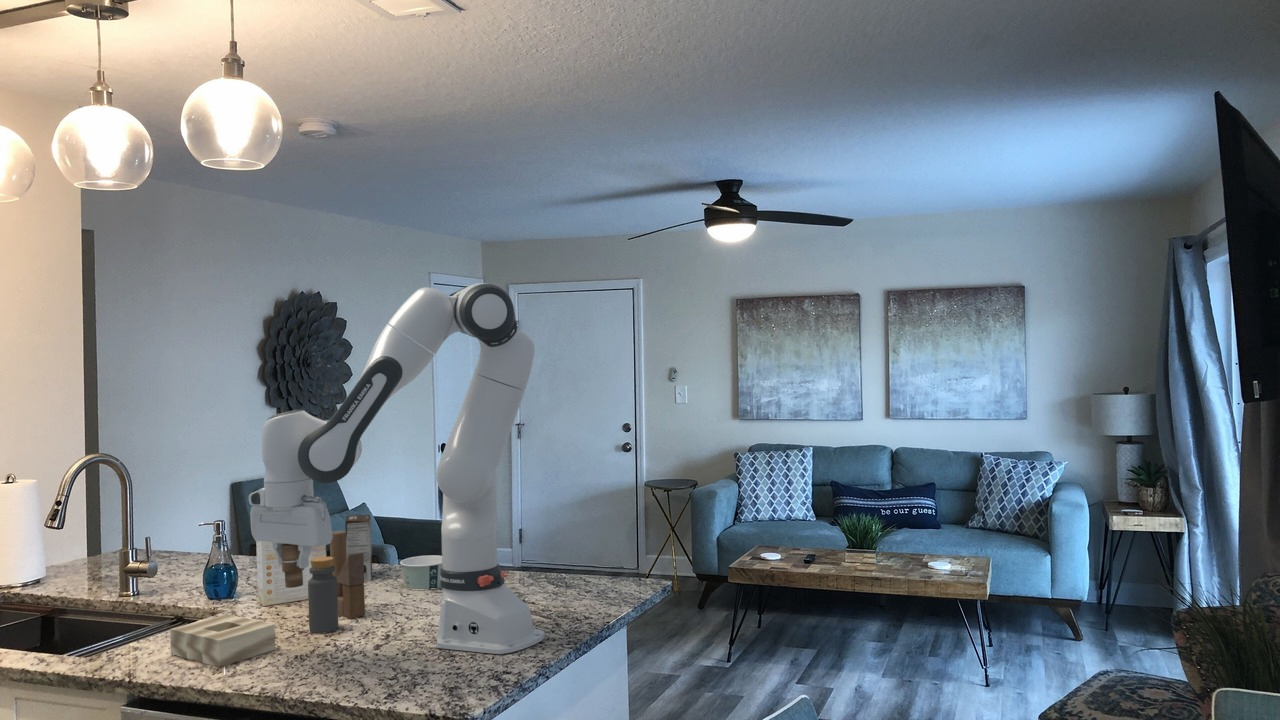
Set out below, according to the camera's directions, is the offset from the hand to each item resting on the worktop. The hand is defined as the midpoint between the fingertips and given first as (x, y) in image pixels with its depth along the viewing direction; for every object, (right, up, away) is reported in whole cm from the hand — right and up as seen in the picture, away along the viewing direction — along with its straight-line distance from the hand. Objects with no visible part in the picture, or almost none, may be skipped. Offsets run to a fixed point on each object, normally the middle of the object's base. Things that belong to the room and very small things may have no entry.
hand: (293, 566), depth 180 cm
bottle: (0, -18, +18) cm, 25 cm away
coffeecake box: (-17, -18, +45) cm, 52 cm away
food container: (+13, -17, +55) cm, 59 cm away
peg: (0, -4, 0) cm, 4 cm away
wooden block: (+1, -18, +30) cm, 35 cm away
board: (-15, -18, +4) cm, 24 cm away
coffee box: (-7, -18, +65) cm, 68 cm away
